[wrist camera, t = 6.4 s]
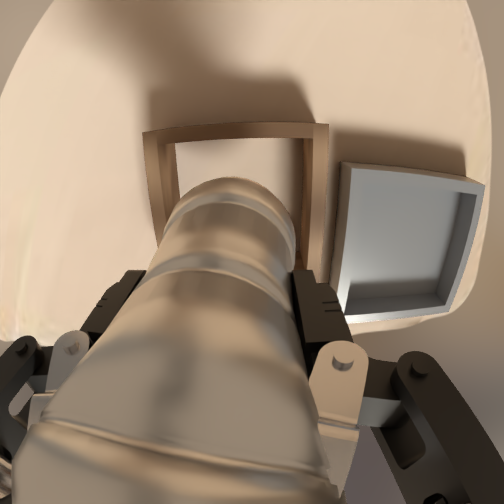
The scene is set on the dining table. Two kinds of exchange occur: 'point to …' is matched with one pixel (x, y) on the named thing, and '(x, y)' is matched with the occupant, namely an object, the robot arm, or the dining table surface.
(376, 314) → the grey tray
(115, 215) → the dining table surface
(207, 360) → the plastic bottle
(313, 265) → the walnut collar
